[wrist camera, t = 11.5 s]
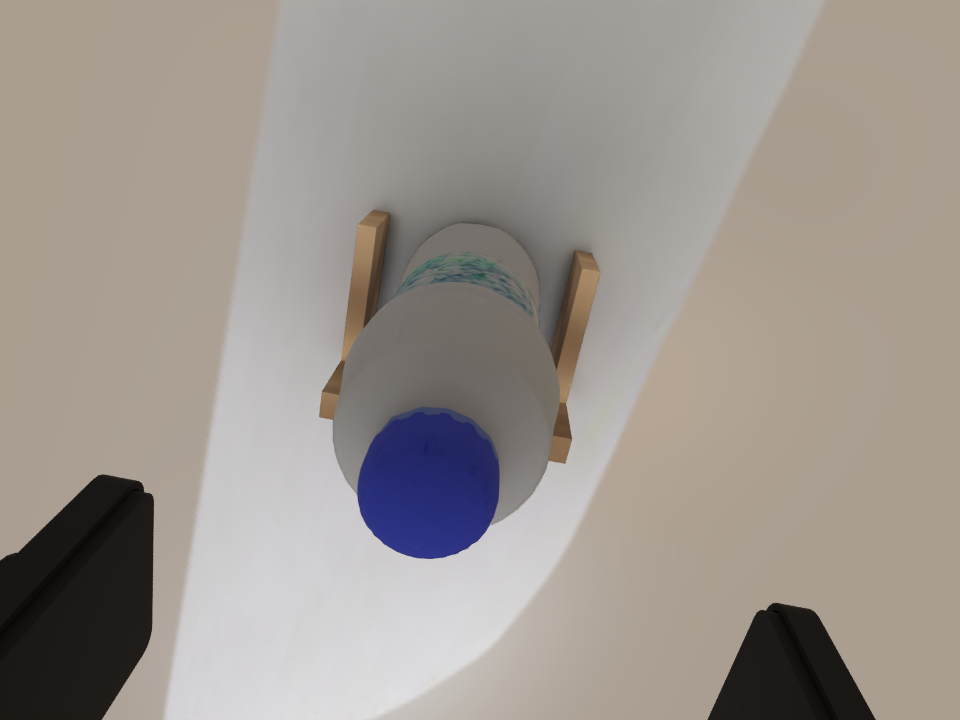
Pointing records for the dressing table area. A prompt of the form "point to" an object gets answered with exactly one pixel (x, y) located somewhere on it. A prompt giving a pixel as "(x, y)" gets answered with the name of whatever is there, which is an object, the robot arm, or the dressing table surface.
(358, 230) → the wooden u-shaped piece
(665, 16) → the dressing table surface
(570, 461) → the dressing table surface
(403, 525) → the bottle
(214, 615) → the dressing table surface
